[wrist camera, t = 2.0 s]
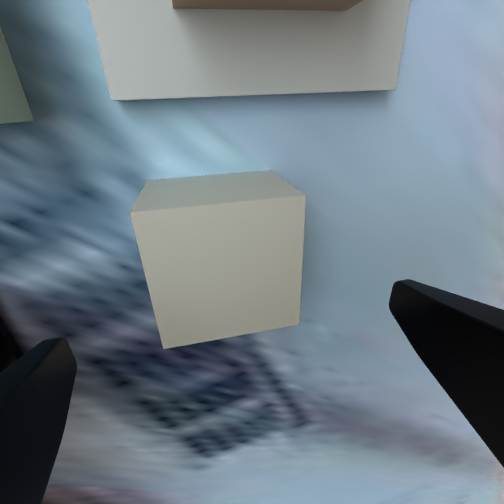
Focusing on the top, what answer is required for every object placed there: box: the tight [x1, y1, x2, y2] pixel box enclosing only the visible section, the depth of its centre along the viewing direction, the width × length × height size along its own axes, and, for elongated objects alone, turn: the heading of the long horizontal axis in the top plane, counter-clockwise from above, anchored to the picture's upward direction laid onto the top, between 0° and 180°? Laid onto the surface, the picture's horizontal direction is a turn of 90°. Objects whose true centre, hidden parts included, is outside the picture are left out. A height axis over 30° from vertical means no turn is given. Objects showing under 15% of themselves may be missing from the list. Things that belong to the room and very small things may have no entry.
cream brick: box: [130, 170, 306, 349], centre depth 12 cm, size 6×6×4 cm
